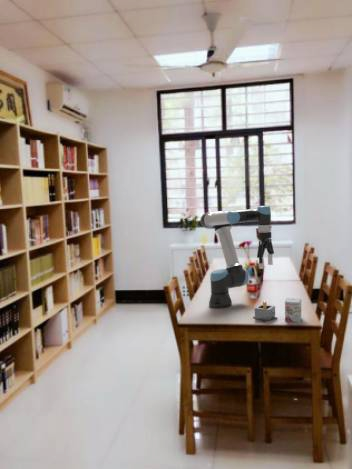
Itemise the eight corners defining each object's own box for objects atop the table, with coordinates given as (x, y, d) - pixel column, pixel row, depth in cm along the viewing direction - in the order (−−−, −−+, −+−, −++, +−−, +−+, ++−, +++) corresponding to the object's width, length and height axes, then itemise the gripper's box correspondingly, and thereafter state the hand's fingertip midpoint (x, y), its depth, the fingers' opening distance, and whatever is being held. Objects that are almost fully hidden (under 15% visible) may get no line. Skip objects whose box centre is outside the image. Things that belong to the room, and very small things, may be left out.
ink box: (284, 321, 249) (284, 301, 248) (286, 317, 257) (286, 297, 256) (300, 322, 246) (300, 301, 245) (301, 318, 254) (301, 298, 253)
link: (254, 318, 256) (254, 308, 255) (261, 314, 263) (260, 304, 263) (269, 320, 251) (269, 309, 250) (275, 315, 258) (275, 305, 258)
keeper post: (253, 317, 259) (252, 301, 258) (266, 314, 264) (266, 298, 263) (263, 321, 250) (262, 305, 249) (277, 318, 255) (276, 302, 254)
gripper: (262, 234, 250) (263, 270, 252) (278, 229, 271) (279, 263, 273) (250, 234, 254) (251, 269, 257) (267, 229, 275) (268, 262, 277)
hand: (266, 266), depth 265 cm, fingers open, 13 cm apart
